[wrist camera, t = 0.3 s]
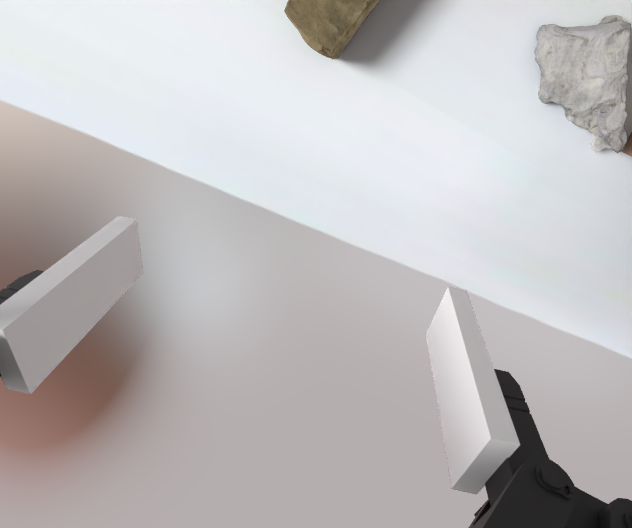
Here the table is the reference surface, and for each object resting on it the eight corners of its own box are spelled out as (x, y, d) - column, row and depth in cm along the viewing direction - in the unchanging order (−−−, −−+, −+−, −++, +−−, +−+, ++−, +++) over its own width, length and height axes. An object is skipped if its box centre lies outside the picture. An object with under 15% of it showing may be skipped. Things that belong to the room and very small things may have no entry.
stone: (537, 160, 38) (555, 174, 35) (528, 31, 32) (547, 33, 29) (609, 138, 36) (635, 151, 33) (613, -3, 30) (644, -5, 27)
